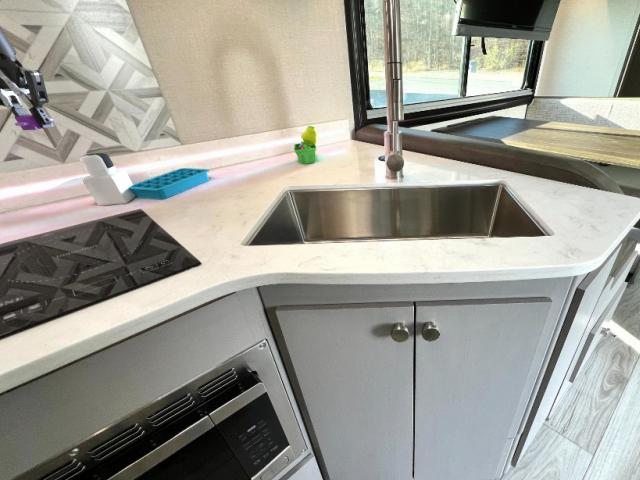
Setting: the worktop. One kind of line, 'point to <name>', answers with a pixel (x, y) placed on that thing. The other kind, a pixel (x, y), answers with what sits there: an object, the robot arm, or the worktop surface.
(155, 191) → the ice cube tray
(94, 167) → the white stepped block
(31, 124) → the candy
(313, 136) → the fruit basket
